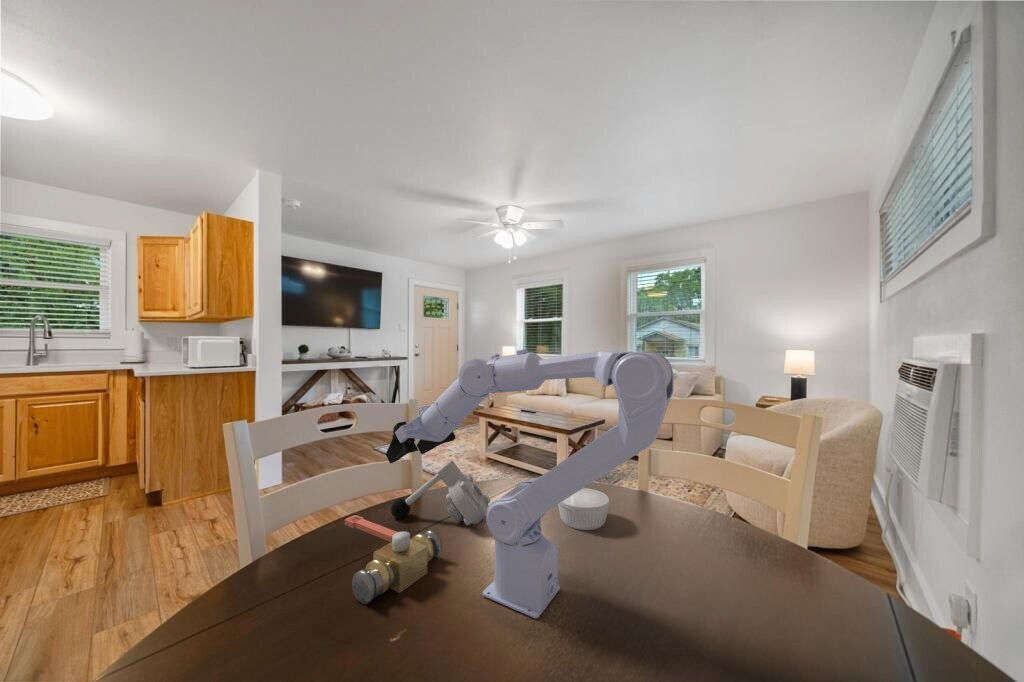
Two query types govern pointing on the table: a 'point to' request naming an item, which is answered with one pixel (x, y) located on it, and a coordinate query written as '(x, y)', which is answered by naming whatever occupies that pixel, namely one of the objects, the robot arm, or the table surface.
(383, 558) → the valve pipe
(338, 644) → the table surface
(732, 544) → the table surface
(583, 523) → the ramekin
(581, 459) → the robot arm
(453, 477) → the mechanical valve
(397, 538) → the lever
